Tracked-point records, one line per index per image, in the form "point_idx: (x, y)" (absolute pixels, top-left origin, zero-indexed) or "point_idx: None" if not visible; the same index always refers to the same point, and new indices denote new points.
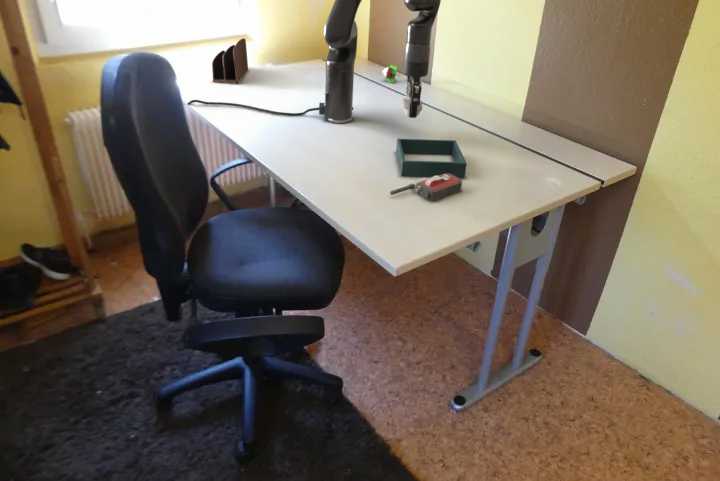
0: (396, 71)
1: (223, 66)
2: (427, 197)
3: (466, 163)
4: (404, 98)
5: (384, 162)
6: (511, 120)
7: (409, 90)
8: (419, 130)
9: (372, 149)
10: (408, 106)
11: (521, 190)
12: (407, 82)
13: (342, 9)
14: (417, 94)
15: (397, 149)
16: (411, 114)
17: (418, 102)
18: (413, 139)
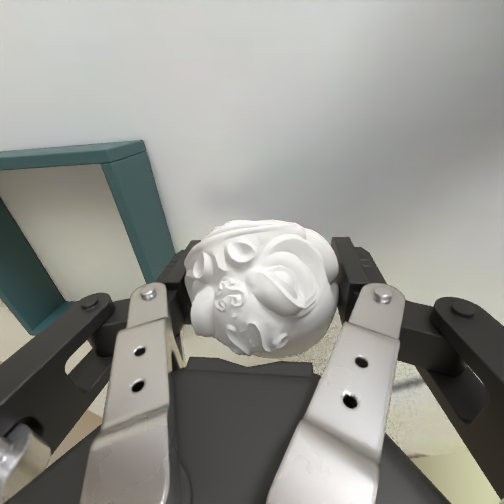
0: None
1: None
2: None
3: (30, 334)
4: (233, 266)
5: (32, 87)
6: (430, 444)
7: (111, 389)
8: (385, 245)
9: (137, 12)
10: (185, 265)
11: (69, 372)
12: (269, 495)
13: None
14: (19, 420)
15: (86, 147)
16: (173, 258)
17: (88, 356)
18: (127, 222)
